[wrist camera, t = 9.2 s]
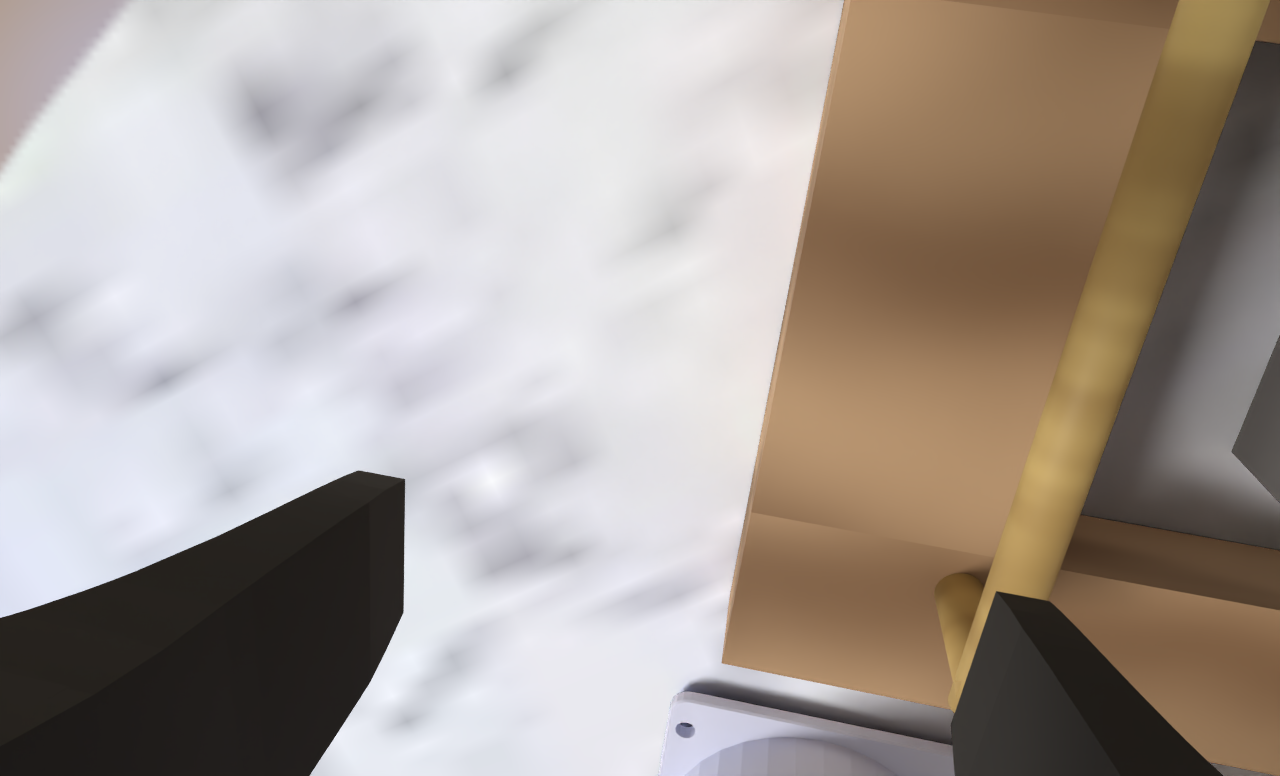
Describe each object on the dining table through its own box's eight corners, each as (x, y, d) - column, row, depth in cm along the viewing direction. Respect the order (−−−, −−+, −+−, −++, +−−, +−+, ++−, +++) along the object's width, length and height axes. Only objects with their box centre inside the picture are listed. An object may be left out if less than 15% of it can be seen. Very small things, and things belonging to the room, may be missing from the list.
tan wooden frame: (1366, 720, 21) (1549, 958, 16) (729, 596, 23) (707, 777, 18) (1804, -28, 15) (2353, -37, 10) (869, -133, 16) (901, -191, 11)
